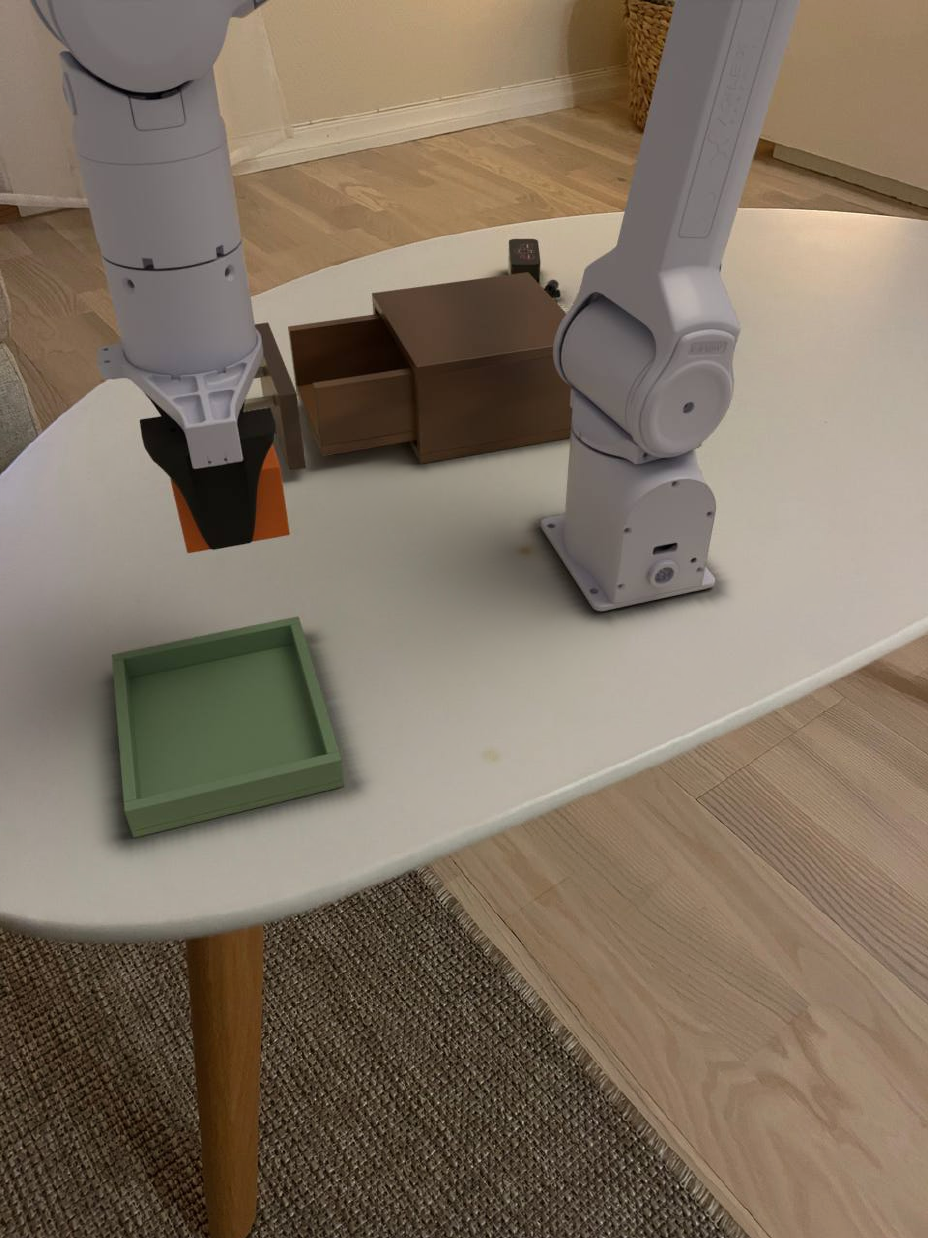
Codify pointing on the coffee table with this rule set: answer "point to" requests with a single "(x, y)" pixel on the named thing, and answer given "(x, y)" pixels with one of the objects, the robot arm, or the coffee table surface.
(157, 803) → the tray
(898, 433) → the coffee table surface
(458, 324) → the cabinet
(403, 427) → the drawer
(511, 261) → the wireless earbuds
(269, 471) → the matte orange cube
